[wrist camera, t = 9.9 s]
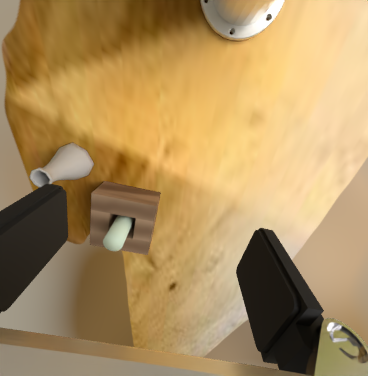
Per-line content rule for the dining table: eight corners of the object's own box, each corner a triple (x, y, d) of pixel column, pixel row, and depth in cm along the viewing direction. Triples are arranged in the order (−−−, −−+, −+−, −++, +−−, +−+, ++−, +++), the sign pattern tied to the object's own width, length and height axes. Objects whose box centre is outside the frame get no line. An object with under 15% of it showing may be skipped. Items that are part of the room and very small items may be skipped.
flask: (101, 164, 38) (74, 182, 29) (78, 184, 40) (46, 207, 31) (72, 135, 36) (33, 145, 27) (49, 158, 38) (6, 175, 29)
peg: (121, 204, 41) (103, 233, 32) (137, 208, 41) (124, 237, 32) (119, 218, 42) (102, 249, 33) (134, 221, 42) (121, 252, 33)
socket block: (104, 181, 40) (91, 193, 34) (160, 192, 41) (156, 206, 35) (101, 227, 44) (89, 244, 39) (152, 236, 45) (147, 254, 40)
